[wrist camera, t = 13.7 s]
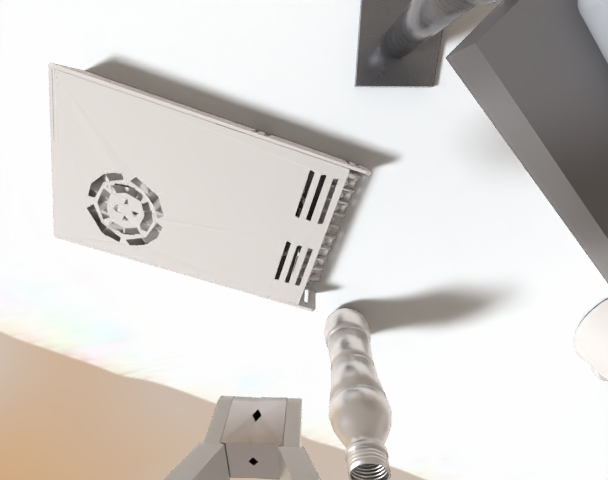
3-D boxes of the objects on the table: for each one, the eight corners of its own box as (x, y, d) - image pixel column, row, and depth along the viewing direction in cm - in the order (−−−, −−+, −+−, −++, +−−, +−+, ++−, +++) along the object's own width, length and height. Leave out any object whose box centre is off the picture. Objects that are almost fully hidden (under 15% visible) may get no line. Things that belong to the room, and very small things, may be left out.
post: (445, -8, 27) (608, -168, 12) (430, 87, 30) (544, 53, 15) (361, -8, 27) (419, -165, 12) (354, 86, 30) (394, 52, 15)
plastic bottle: (363, 299, 40) (406, 446, 22) (368, 335, 43) (410, 495, 25) (319, 305, 41) (325, 454, 23) (327, 340, 44) (337, 500, 25)
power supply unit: (314, 291, 41) (314, 312, 36) (85, 223, 38) (53, 237, 33) (364, 166, 34) (372, 172, 29) (87, 70, 31) (47, 61, 26)
